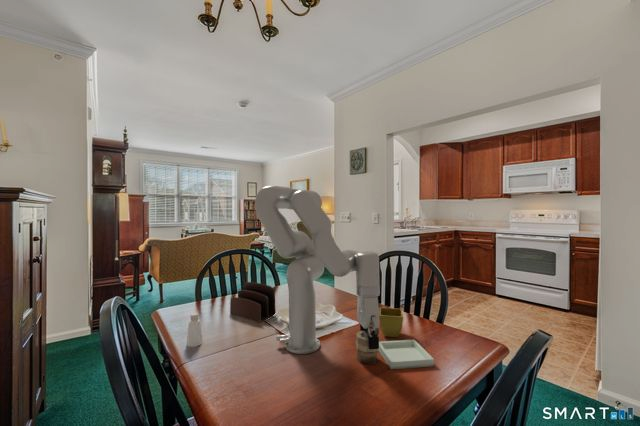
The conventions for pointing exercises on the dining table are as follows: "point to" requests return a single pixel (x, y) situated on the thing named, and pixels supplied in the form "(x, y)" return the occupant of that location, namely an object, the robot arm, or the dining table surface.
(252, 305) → the letter holder
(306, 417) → the dining table surface
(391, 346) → the tray
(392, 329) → the flower pot
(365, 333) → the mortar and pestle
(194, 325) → the salt shaker
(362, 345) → the birch ring
